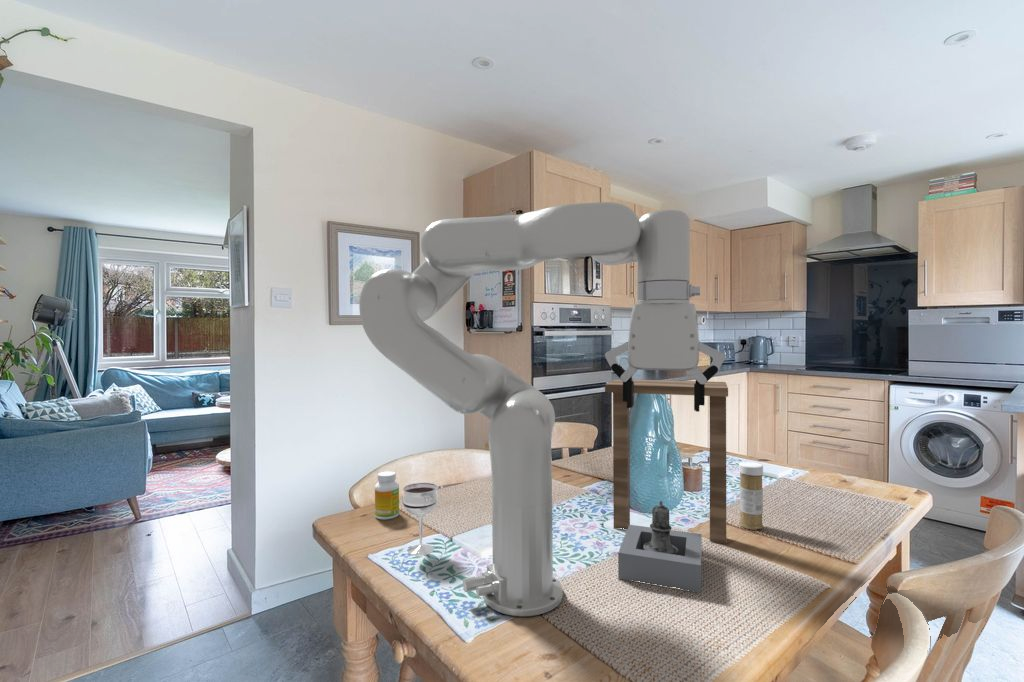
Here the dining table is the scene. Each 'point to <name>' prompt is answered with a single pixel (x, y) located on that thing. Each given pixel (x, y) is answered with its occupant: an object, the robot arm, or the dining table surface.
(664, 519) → the salt shaker
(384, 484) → the supplement bottle
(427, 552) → the wineglass
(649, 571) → the socket block
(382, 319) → the robot arm
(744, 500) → the sprinkles bottle
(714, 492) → the canopy
